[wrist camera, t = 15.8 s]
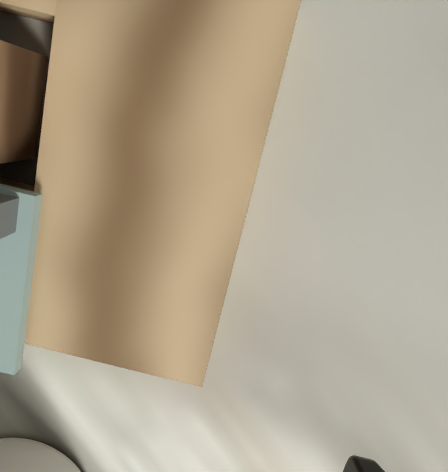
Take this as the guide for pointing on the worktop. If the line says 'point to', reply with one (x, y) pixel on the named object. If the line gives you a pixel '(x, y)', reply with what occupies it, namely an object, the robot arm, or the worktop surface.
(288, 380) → the worktop surface
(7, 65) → the block
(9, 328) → the cover
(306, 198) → the worktop surface
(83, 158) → the wooden board with hole
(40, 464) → the pill bottle
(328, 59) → the worktop surface
